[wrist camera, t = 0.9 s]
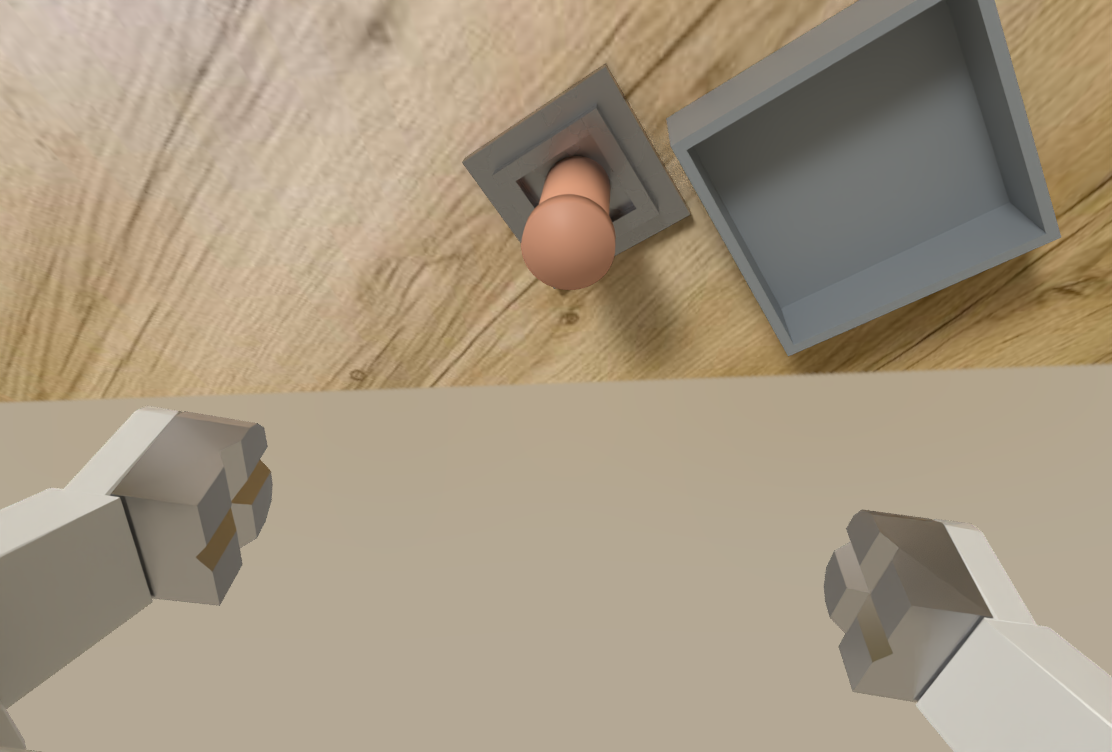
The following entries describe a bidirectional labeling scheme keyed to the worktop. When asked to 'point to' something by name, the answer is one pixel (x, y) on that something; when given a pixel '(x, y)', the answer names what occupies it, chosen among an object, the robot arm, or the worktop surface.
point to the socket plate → (590, 131)
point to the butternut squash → (571, 226)
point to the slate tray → (869, 164)
